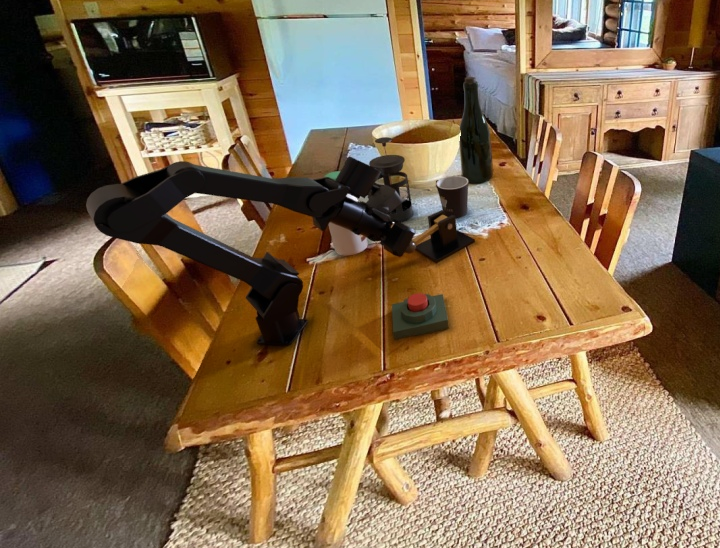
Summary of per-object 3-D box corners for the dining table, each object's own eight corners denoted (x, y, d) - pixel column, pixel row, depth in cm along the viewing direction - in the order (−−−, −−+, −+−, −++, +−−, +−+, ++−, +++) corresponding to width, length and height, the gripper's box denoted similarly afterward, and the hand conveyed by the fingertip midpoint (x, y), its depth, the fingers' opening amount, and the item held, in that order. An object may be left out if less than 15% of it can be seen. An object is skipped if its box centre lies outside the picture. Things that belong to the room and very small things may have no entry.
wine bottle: (466, 186, 141) (457, 82, 126) (458, 174, 149) (448, 75, 134) (497, 180, 145) (492, 79, 130) (488, 169, 153) (481, 72, 138)
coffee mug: (474, 218, 122) (471, 186, 118) (443, 224, 119) (439, 191, 115) (464, 200, 132) (462, 170, 127) (436, 205, 129) (432, 174, 125)
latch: (409, 258, 100) (405, 247, 98) (401, 253, 102) (396, 242, 100) (452, 226, 107) (449, 216, 105) (444, 222, 109) (440, 212, 107)
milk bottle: (357, 258, 105) (339, 183, 96) (328, 255, 107) (308, 180, 98) (374, 241, 112) (359, 169, 103) (347, 238, 113) (330, 166, 104)
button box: (394, 340, 82) (391, 324, 80) (393, 312, 88) (390, 297, 87) (449, 328, 84) (446, 312, 83) (443, 302, 91) (441, 286, 89)
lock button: (409, 314, 83) (407, 307, 82) (408, 302, 86) (406, 295, 85) (428, 310, 84) (427, 302, 83) (426, 298, 87) (425, 291, 86)
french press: (410, 205, 130) (398, 130, 119) (421, 218, 123) (409, 140, 112) (369, 215, 124) (353, 138, 113) (378, 230, 117) (361, 149, 106)
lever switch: (436, 264, 103) (432, 232, 99) (414, 250, 108) (409, 219, 104) (475, 243, 111) (472, 212, 107) (452, 231, 116) (449, 201, 112)
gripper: (400, 193, 83) (451, 221, 96) (349, 168, 94) (401, 196, 107) (369, 246, 81) (425, 267, 94) (322, 214, 92) (378, 237, 105)
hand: (407, 239), depth 100 cm, fingers closed, pressing on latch
